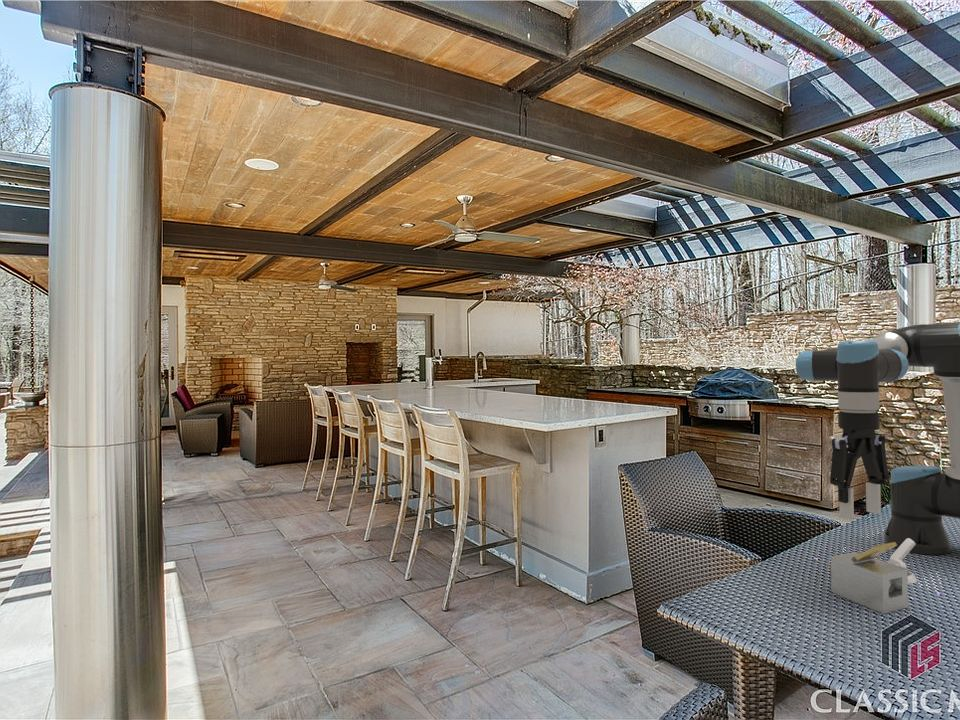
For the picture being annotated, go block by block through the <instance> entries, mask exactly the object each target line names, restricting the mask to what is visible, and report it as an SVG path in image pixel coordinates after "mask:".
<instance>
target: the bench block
mask: <svg viewBox="0 0 960 720" xmlns="http://www.w3.org/2000/svg"><path fill="white" fill-rule="evenodd" d="M860 554H861V553H859V552H857V551H854V552H853V551H852V552H848V553H842V554H837V555H832V556H830V564H831V572H830V574H831V579H830V582H831V593H832V592H833V593H832V594H834V593H835V594H834V595H838V596H839V595H840V596H839V597H841V598H844V597H845V598H844V599H846V598H847V599H846V600H849V599H850V600H849V601H852V602H854V603H856V604H858V605H861V606H864V607H866V608H869V609H871V610H873V611H876V612H879V613H880V612H881V614H887V613H892V612H895V611H899V610H903V609H906V608H909V588H908V587H909V584H908V574H907V570H908V568H907V567H906V568H903V567H900V566H896V565H893V564H890V563H888V561H884V560H881V559H879V558H876V557H875V558H874V559H869V560H865V561H860V562H853V561H852V557H855V556H858V555H860ZM891 579H893V580H894V583H895V586H894V589H893V591H892V592H891V593H889V588H888V580H891Z"/></svg>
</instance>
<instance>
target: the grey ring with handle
mask: <svg viewBox="0 0 960 720" xmlns="http://www.w3.org/2000/svg"><path fill="white" fill-rule="evenodd" d="M914 546H915V542H914V541H913V540H911V539H910V538H907V539H906V540H905V541H904V542H903V543H902V544H901V545H900V546H899V548H898V549H897V548H896V550H895V551H894V552H893V553H892V554H891V555H890V558H889V559H888V561H887V563H890V564H893V565H896V566H900V567H903V568H906V569H907V565H906V563H905V562H904V561H903V560H904V559H905V558H906V556H907V555H909V553H911V552H910V551H911V549H912V548H913V547H914ZM907 574H908V585H909V584H916V583H917V582H918V579H917V578H916V576H915V573H913V572H912V571H910V570H908V569H907Z"/></svg>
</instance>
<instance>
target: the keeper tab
mask: <svg viewBox="0 0 960 720" xmlns="http://www.w3.org/2000/svg"><path fill="white" fill-rule="evenodd" d="M895 546H897V544H896V543H895V542H892V543H887V544H886V543H883V544H878V545H877V544H876V545H875V546H873V547H871V548H869V549H868V550H867V549H866V550H865V551H864V552H862V553H860V555H858V556H855V557H852V561H853V562H860V561H865V560H869V559H874V558H875V559H876V557H878V556H880V555H882V554H883V553H885V552H888V551H889V550H891V549H893V548H894V547H895Z"/></svg>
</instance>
